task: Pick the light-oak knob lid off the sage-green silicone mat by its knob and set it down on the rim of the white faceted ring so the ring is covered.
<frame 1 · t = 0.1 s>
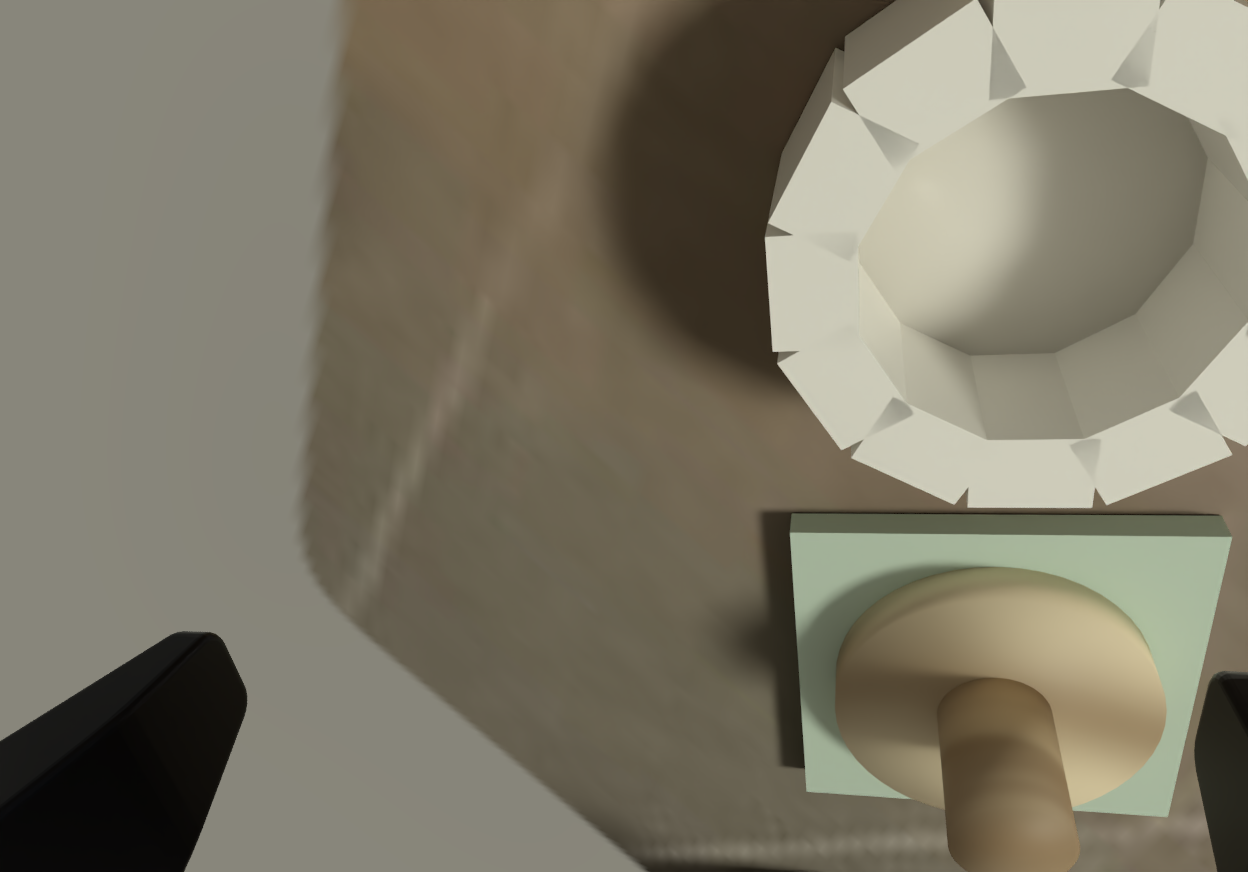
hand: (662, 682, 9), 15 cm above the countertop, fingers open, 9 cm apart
white faceted ring: (1018, 202, 20), on the countertop
mat: (985, 660, 27), on the countertop
lid: (988, 682, 27), point 1 cm above the countertop, touching mat
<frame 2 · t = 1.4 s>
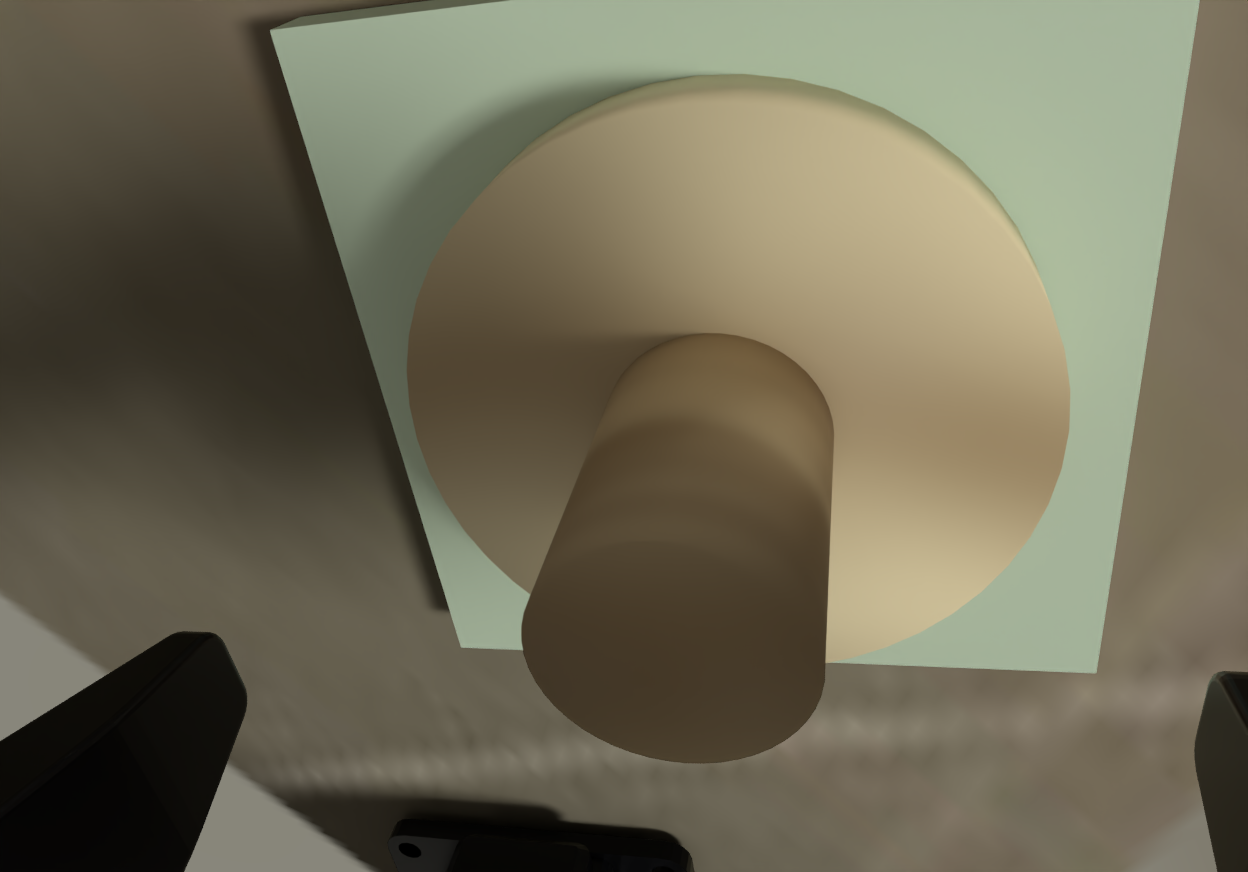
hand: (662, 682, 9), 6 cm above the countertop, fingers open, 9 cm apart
mat: (734, 357, 14), on the countertop
lid: (728, 386, 13), point 1 cm above the countertop, touching mat
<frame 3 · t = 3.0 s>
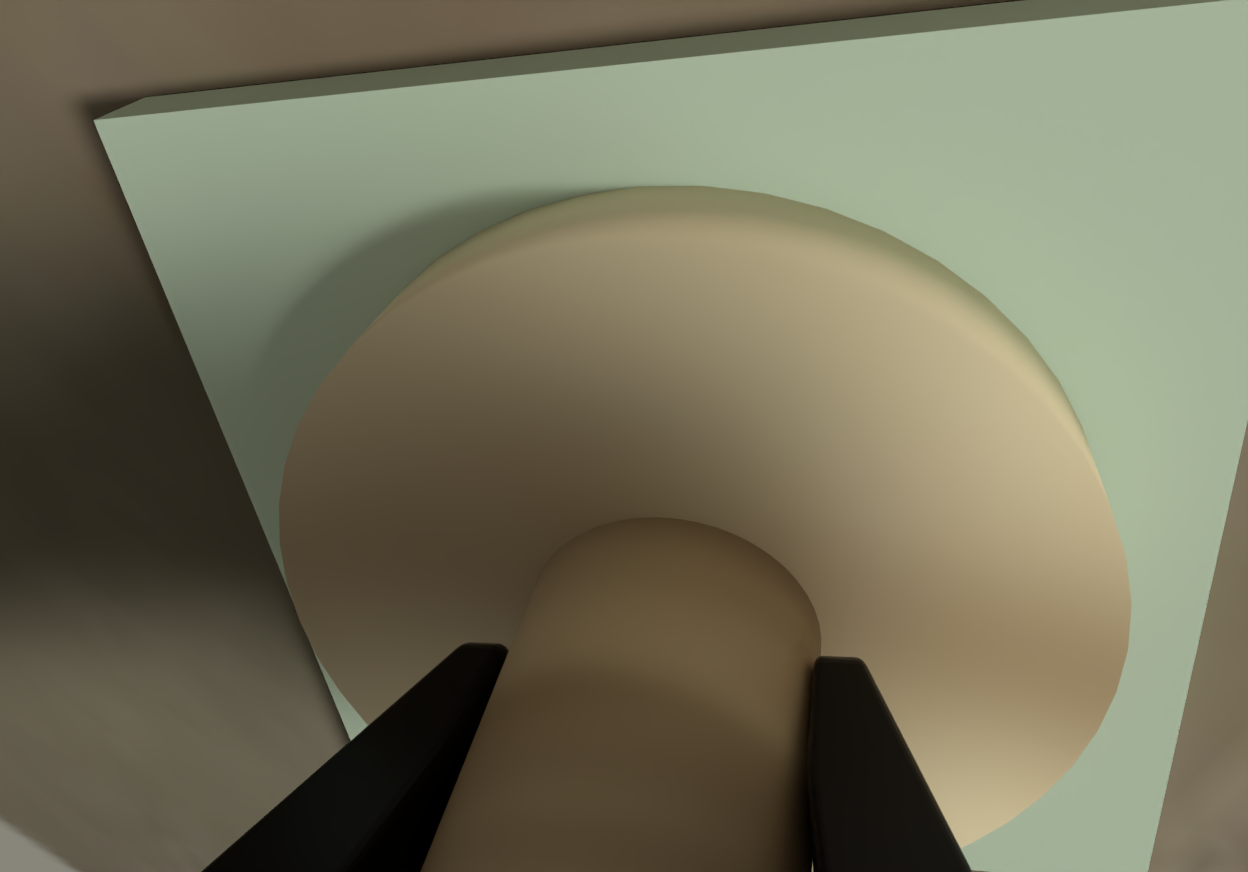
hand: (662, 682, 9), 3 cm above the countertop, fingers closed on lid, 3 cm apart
mat: (700, 508, 11), on the countertop
lid: (689, 554, 11), point 1 cm above the countertop, touching gripper, mat
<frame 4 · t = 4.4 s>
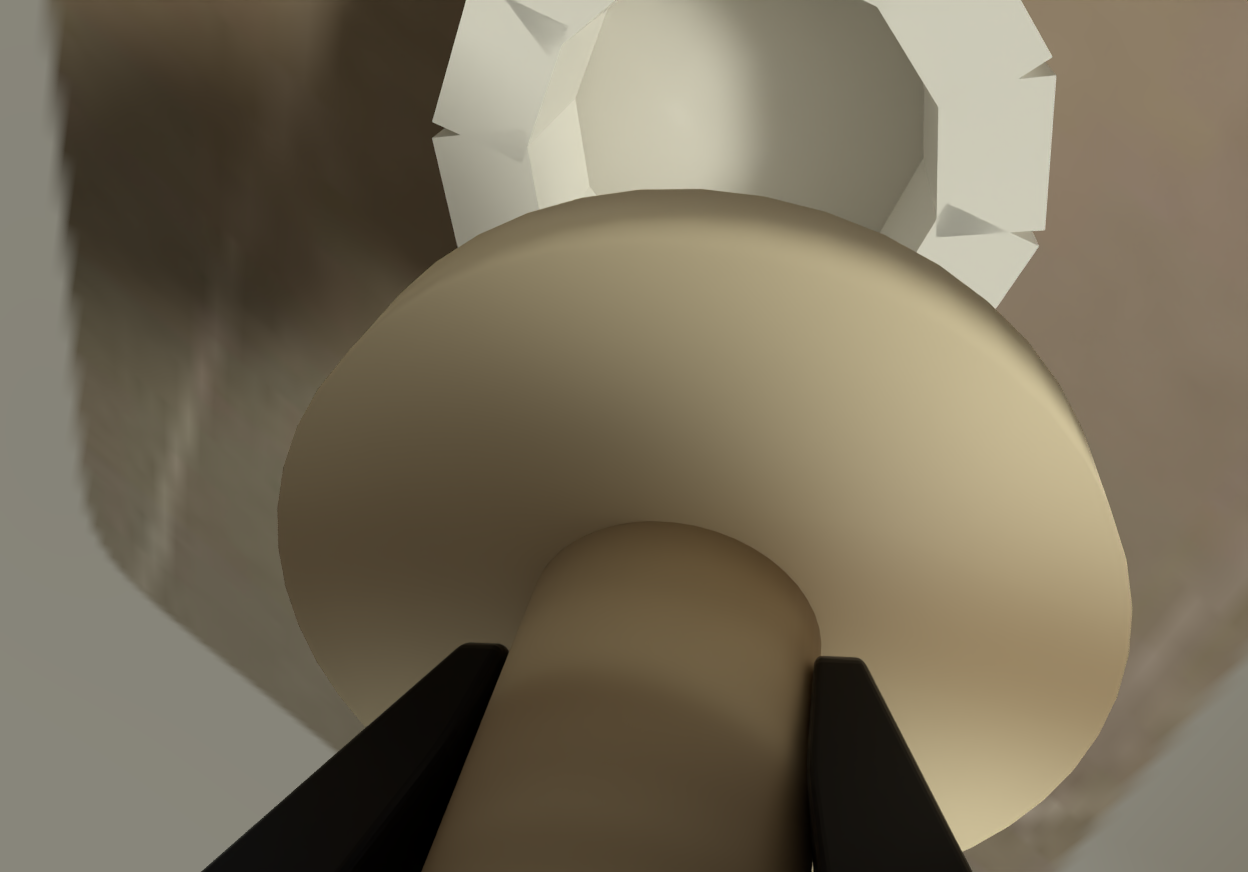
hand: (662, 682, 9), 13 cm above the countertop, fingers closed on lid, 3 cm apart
white faceted ring: (748, 119, 19), on the countertop
lid: (689, 557, 10), point 11 cm above the countertop, touching gripper
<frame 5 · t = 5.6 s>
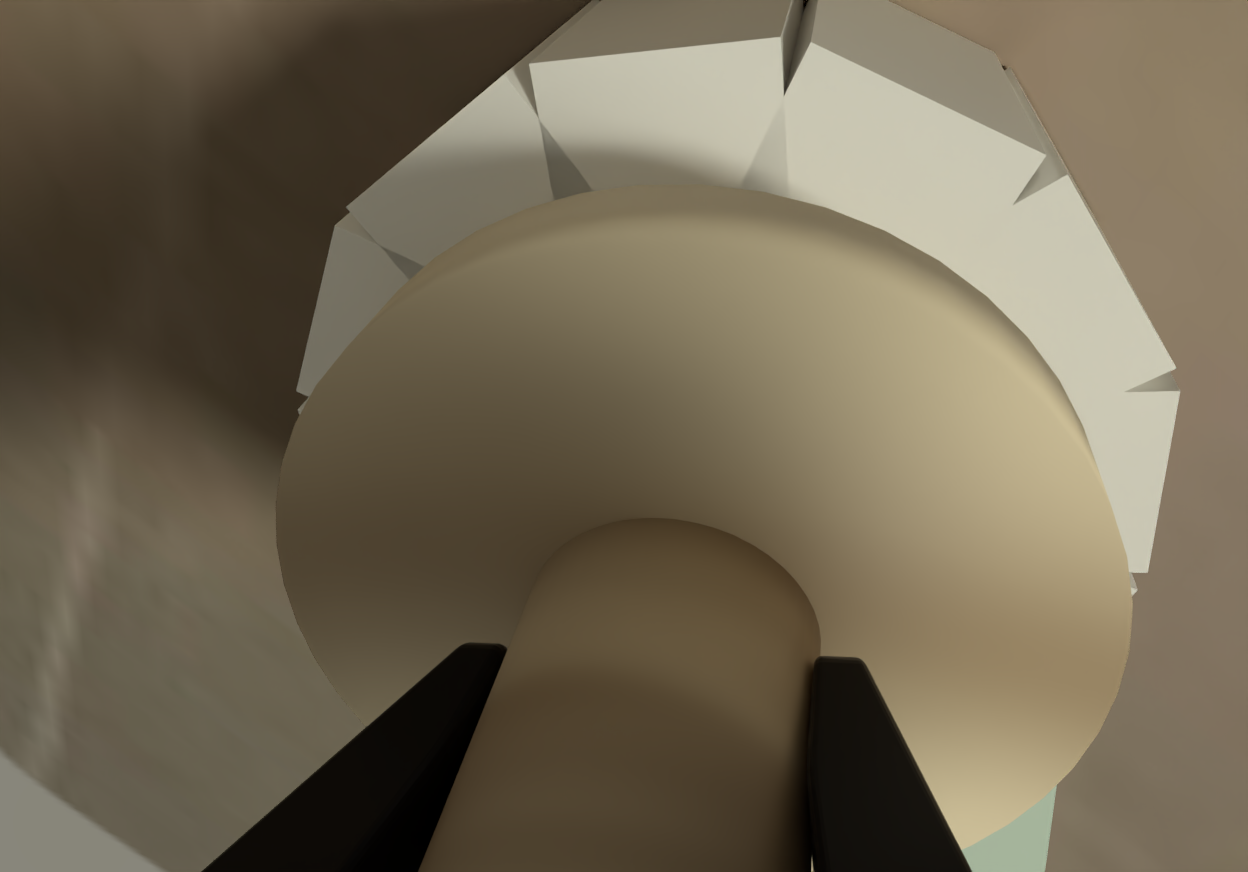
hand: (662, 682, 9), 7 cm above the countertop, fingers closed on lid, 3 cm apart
white faceted ring: (737, 329, 15), on the countertop
mat: (784, 868, 21), on the countertop
lid: (688, 554, 10), point 5 cm above the countertop, touching gripper
when the fingers open (7 cm above the countertop, at t = 6.2 s): lid drops 1 cm, resting on white faceted ring.
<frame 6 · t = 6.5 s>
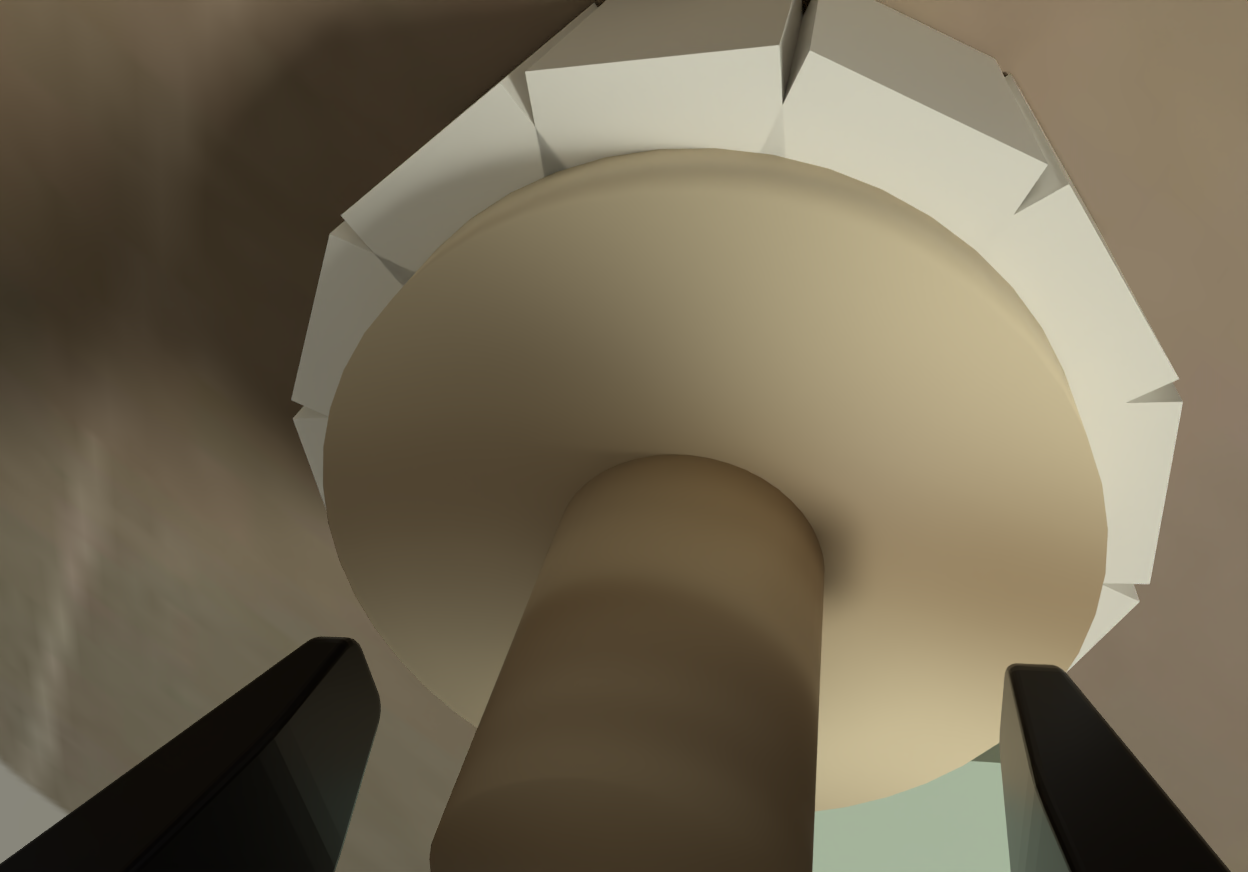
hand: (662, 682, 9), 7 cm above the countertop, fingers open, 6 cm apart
white faceted ring: (735, 336, 15), on the countertop
lid: (701, 497, 11), point 4 cm above the countertop, touching white faceted ring
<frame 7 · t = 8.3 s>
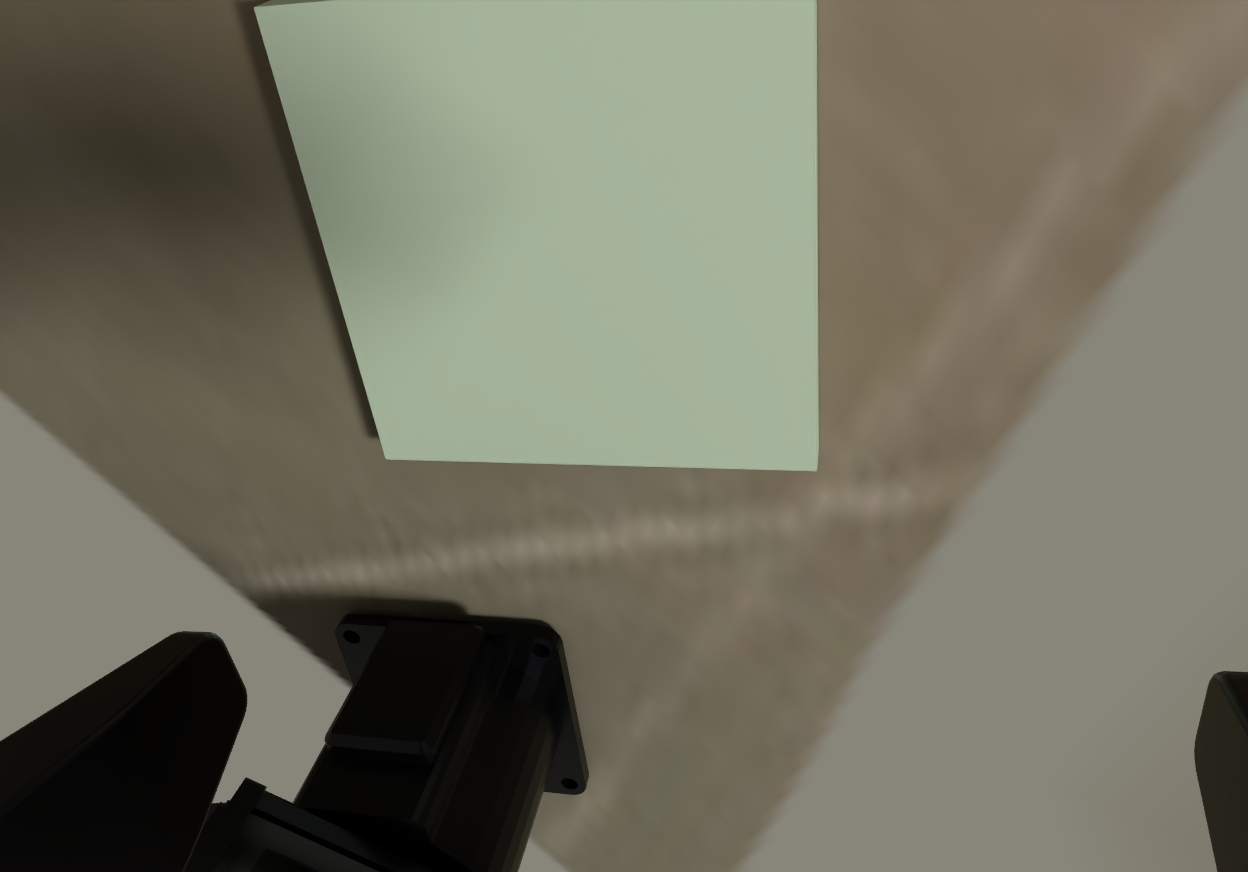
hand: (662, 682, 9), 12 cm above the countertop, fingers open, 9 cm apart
mat: (567, 241, 20), on the countertop
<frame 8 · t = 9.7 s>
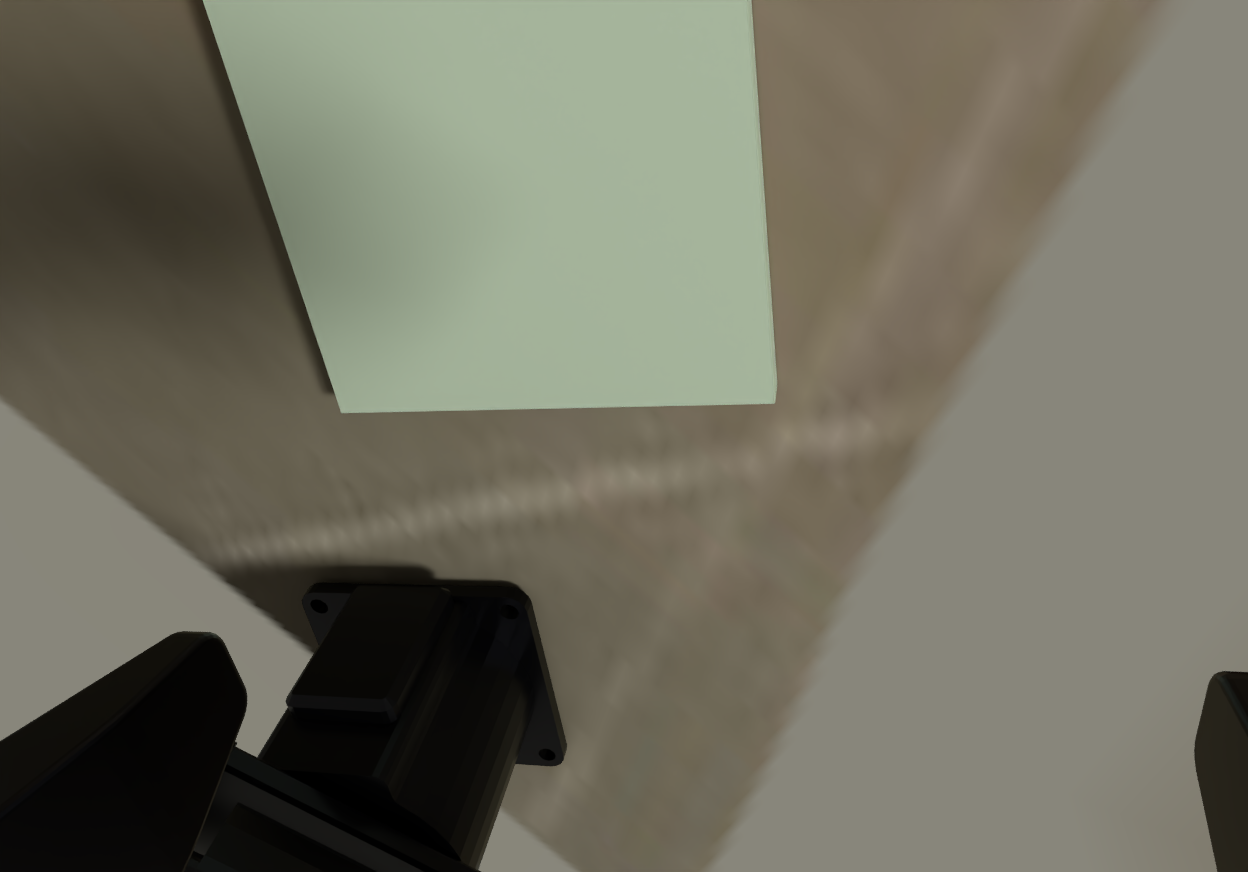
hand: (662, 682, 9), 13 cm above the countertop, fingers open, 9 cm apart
mat: (511, 174, 20), on the countertop
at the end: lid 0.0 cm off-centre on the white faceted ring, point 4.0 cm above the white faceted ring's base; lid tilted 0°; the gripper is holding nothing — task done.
